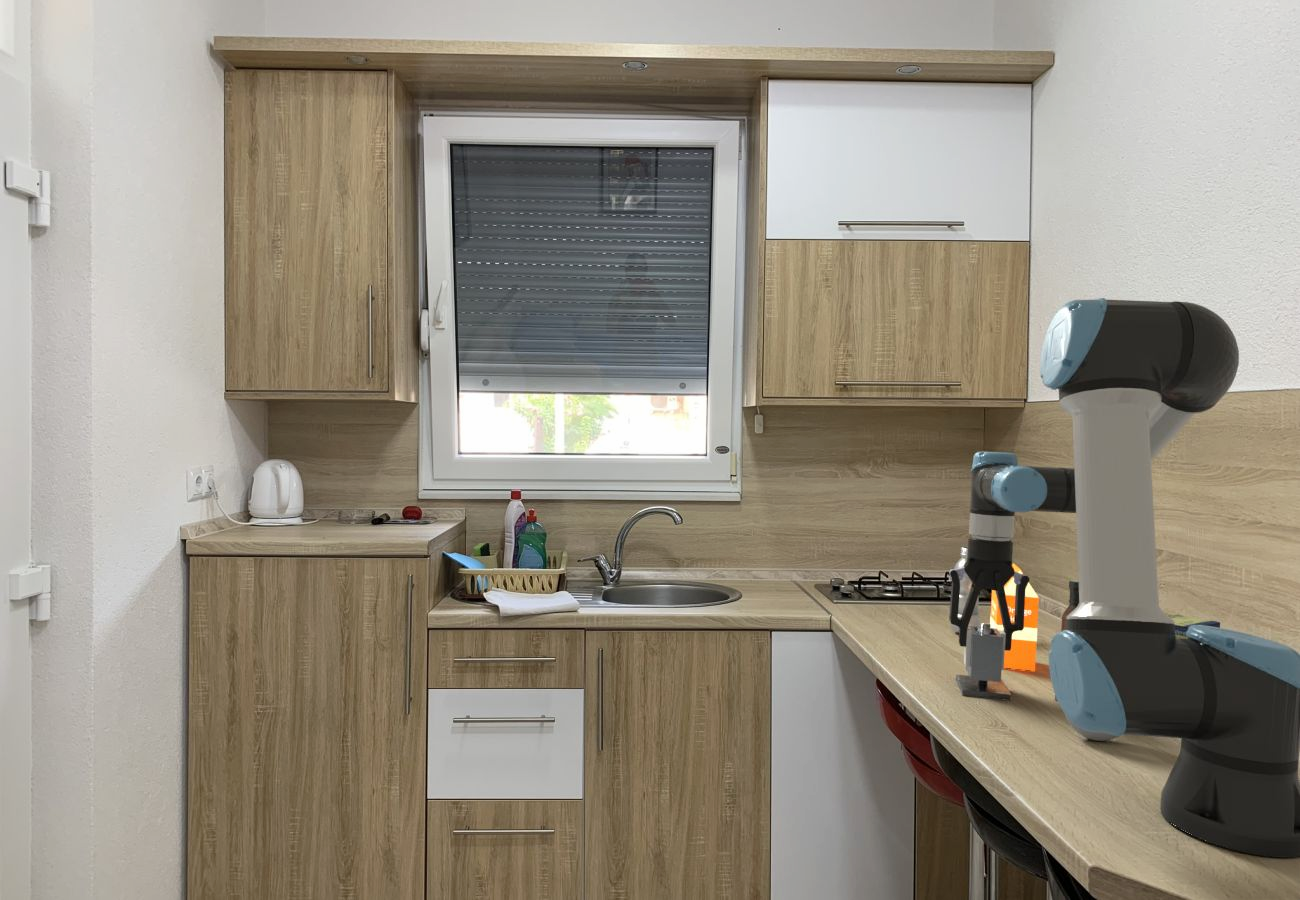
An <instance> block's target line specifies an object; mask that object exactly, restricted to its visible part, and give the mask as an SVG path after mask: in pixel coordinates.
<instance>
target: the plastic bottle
mask: <svg viewBox="0 0 1300 900" xmlns="http://www.w3.org/2000/svg"><path fill="white" fill-rule="evenodd" d="M967 554H968V546H962V547H960V554H959V555H960V556H961V558H959V560H958V561H957V562H956V563H955V565H954V566H953V567H954V568H953V569H958V568H962V567H964V565H965V563H966V561H967ZM971 585H972V581H971V580H970V578H969V577H968V575H967V574H966V573H965V574H964V575H963V579H962V580H961V581H960V595H959V610H958V618H959V619H961V616H962V613H963V610H964V607H965V604H966V601H967V598H968V596H969V593H970V588H971ZM979 597H980V596H978V599H977V602H976V604H975V607H974V610H973V613H972V616H971V619H970V622H969V625H968V626H975V627H981V619H980V615H979V614H980V613H979V612H980V611H979V610H980V609H979ZM950 628H951V629H952V631H953V632H955V633H958V634H959V627H958V626H956V625H953V624H951V623H950Z"/></svg>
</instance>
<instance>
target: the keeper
mask: <svg viewBox="0 0 1300 900" xmlns="http://www.w3.org/2000/svg"><path fill="white" fill-rule="evenodd" d="M980 627H981V634H985V635H990V628H991V624H990V622H980ZM955 682H956V683H957V686H958V688H959V691H960V690H961V691H960V694H961V695H962V696H965V695H969V696H968V697H974V696H979V697H978V698H984V697H987V698H986V699H993V698H997V699H996V700H1003V699H1005V700H1004V701H1011V700H1012V694H1011V692H1010V690H1009V689H1008V687H1007V686H1006V683H1005V682H1004V680H1003V679H1002V678H1001V682H993V681H983V680H974V679H970V676H969V675H966V674H965V675H964V674H955Z"/></svg>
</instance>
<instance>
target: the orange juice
mask: <svg viewBox="0 0 1300 900" xmlns="http://www.w3.org/2000/svg"><path fill="white" fill-rule="evenodd" d="M1012 566H1013V568H1014V571H1015V572H1018V573H1020V574H1024V573H1023V571H1022V570H1021V569H1020V568H1019V566H1017V565H1016V564H1015V563H1014V562H1012ZM1004 590H1005V596H1006V601H1007V605H1008V610H1009V615H1010V619H1011V623H1014V615H1015V591H1016V584H1015V583H1014V577H1012V578H1011V579H1010V580H1009V581H1008V582H1007V583H1006V584H1005V586H1004ZM1039 601H1040V597H1039V595H1037V593H1036V591H1035V589H1034V588H1033V587H1032V585H1031V584H1030V581H1029V582H1028V585H1027V587H1026V589H1025V610H1024V629H1023V630H1022V631H1015V632H1013V634H1012V643H1011V650H1010V651H1006V650H1005V657H1004V669H1005V668H1011V669H1010V670H1015V669H1021V670H1020V671H1025V670H1031V671H1030V672H1036V656H1037V642H1038V619H1039V603H1040V602H1039ZM990 602H991V603H990V616H989V617H990V618H989V623H990V624H991V628H997V629H998V631H999V630H1003V631H1004V628H1003V623H1002V619H1001V614H1000V610H999V605H998V600H997V596H996V592H995V590H991V601H990Z"/></svg>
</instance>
